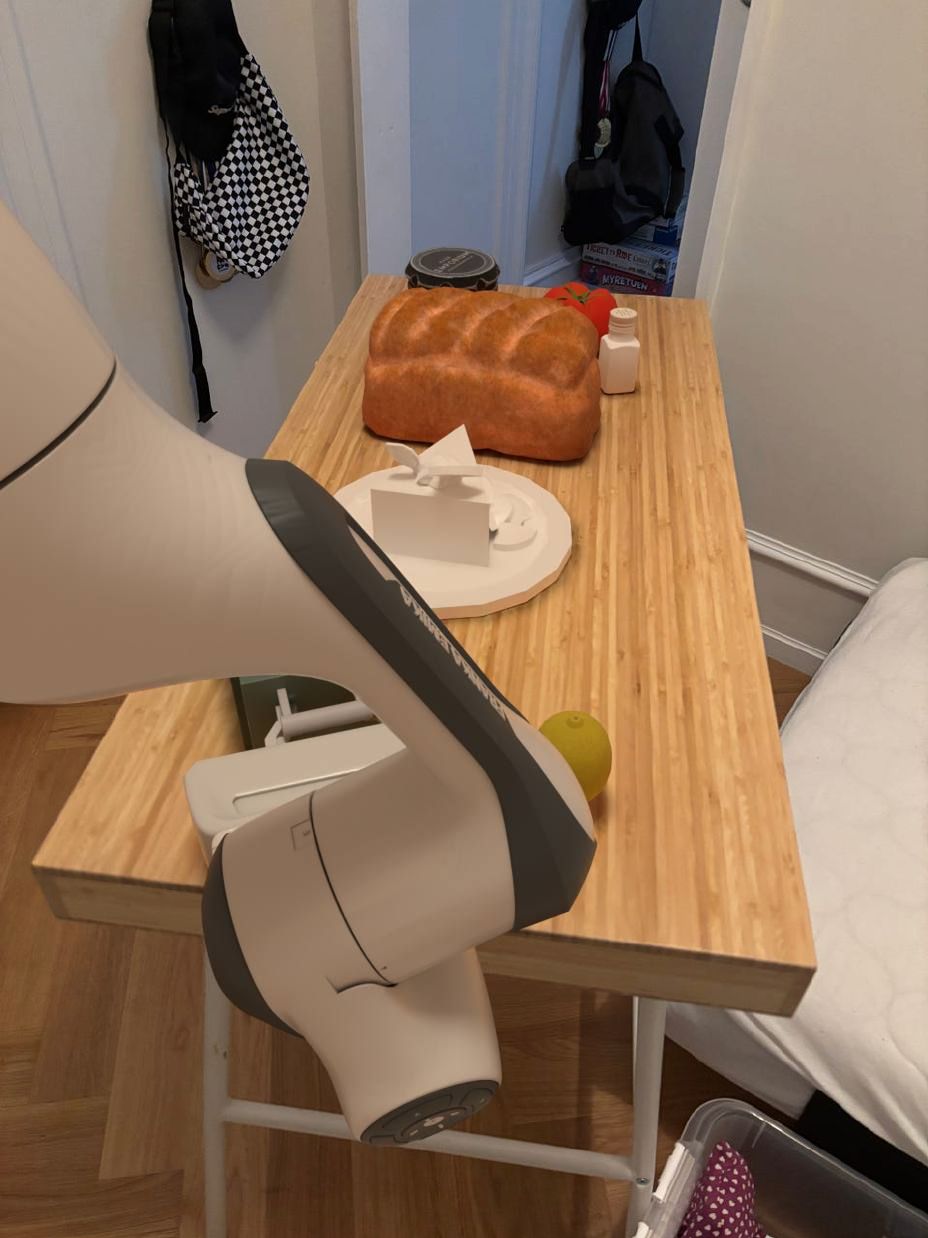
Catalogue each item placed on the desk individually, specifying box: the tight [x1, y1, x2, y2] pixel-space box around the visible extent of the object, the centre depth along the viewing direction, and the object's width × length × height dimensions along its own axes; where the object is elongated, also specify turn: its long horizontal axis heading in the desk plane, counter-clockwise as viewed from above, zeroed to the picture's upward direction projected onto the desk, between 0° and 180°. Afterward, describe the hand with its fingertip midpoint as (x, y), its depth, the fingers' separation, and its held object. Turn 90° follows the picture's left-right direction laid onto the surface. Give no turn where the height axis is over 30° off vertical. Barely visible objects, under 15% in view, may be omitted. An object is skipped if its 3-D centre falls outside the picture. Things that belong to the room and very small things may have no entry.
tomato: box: [542, 281, 619, 351], centre depth 123 cm, size 11×11×8 cm
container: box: [404, 246, 502, 292], centre depth 126 cm, size 13×13×10 cm
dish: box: [332, 424, 573, 620], centre depth 87 cm, size 25×25×11 cm
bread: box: [361, 287, 602, 462], centre depth 103 cm, size 14×26×16 cm, turn 74°
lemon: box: [537, 710, 613, 803], centre depth 63 cm, size 6×6×8 cm
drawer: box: [239, 675, 380, 750], centre depth 69 cm, size 16×10×7 cm, turn 18°
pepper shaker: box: [598, 307, 641, 395], centre depth 113 cm, size 4×4×10 cm
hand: (328, 702), depth 66 cm, fingers open, 4 cm apart
